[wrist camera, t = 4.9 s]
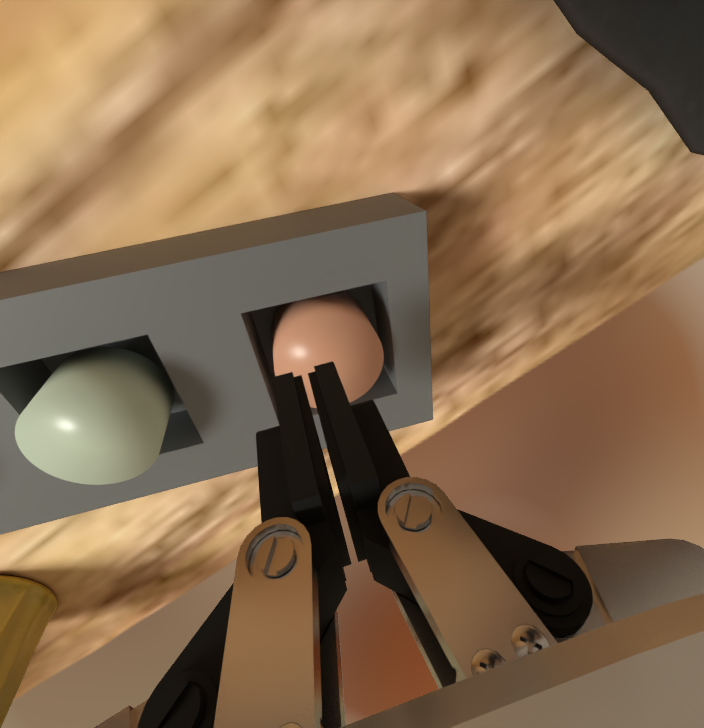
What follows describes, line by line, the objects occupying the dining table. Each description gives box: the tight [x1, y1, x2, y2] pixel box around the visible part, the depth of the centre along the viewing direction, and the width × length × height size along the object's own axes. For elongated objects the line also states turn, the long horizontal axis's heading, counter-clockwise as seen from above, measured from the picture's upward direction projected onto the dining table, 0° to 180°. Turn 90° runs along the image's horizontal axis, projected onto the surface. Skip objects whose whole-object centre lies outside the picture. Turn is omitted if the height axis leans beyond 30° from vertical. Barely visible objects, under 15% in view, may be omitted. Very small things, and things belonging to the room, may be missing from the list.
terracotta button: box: [271, 290, 384, 408], centre depth 15 cm, size 4×4×3 cm
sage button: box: [15, 347, 174, 485], centre depth 13 cm, size 4×4×3 cm
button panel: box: [0, 193, 433, 535], centre depth 15 cm, size 9×24×4 cm, turn 99°
